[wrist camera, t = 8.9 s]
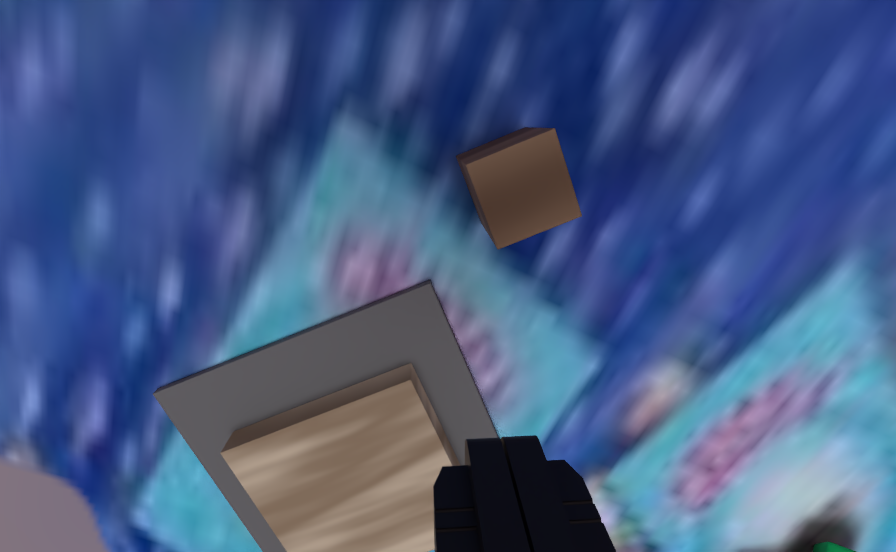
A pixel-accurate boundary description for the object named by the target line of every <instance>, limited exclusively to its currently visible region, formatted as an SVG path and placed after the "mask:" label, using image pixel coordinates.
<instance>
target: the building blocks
mask: <svg viewBox="0 0 896 552" xmlns="http://www.w3.org/2000/svg"><path fill="white" fill-rule="evenodd" d="M813 552H856V551H853V550H851V549H848V548H845V547H842V546H840V545H837V544H834V543H831V542H823V543H818V544H815V545H814V548H813Z"/></svg>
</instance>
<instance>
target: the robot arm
mask: <svg viewBox="0 0 896 552" xmlns="http://www.w3.org/2000/svg"><path fill="white" fill-rule="evenodd" d="M433 499H434V545H435V552H616V550H615V548H614V546H613V544H612V541H611V539H610V537H609V535H608V533H607V530H606V528H605V526H604V524H603V523H602V522H601V517H600V515H599V513H598V511H597V509H596V506H595V504H593V502H592V498H591V495H590V493H589V491H588V489H587V487H586V484H585V482H584V480H583V478H582V477H581V476H580V475H579V474H578V473H577V472H576V471H575V470H574V469H573V468H572V467H571V466H570V465H569V464H568V463H567V462H566V461H565V460H551V461H547V460H546V458H545V455H544V452H543V450H542V447H541V444H540V442H539V439H538V437H537V436H535V435H534V436H514V437H502V438H501V439H500V438H499V437H497V438H477V439H466V440H465V465H460V466H442V469H441V471H440V473H439V475H438V477H437V479H436V481H435V484H434V486H433Z"/></svg>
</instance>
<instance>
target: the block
mask: <svg viewBox="0 0 896 552" xmlns="http://www.w3.org/2000/svg"><path fill="white" fill-rule="evenodd" d="M456 158H457V160H458V163H459V166H460V168H461V171H462V174H463V176H464V179H465V181H466V184H467V187H468V189H469V192H470V194H471V197H472V200H473V202H474V205H475V208H476V210H477V213H478V215H479V218H480V221H481V223H482V225H483V226H484V228H485V230H486V231H487V233H488V234H489V236H490V238H491V239H492V241H493V243H494V244H495V246H496V247H497V249H500V248H503V247H505V246H508V245H510V244H513V243H515V242H518V241H520V240H523V239H525V238H528V237H530V236H533V235H535V234H538V233H541V232H543V231H546V230H548V229H551V228H553V227H556V226H558V225H561V224H563V223H566V222H568V221H571V220H573V219H576V218H578V217H581V216H582V214H581V211H580V208H579V205H578V202H577V198H576V195H575V192H574V189H573V185H572V182H571V179H570V176H569V173H568V169H567V166H566V163H565V160H564V156H563V153H562V150H561V147H560V144H559V140H558V137H557V134H556V131H555V128H528V127H525V128H522V129H520V130H517V131H515V132H512V133H510V134H508V135H505V136H503V137H500V138H498V139H496V140H493V141H491V142H488V143H486V144H484V145H481V146H479V147H476V148H474V149H471V150H469V151H467V152H464V153H462V154H459V155H457V156H456Z"/></svg>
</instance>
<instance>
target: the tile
mask: <svg viewBox="0 0 896 552" xmlns="http://www.w3.org/2000/svg"><path fill="white" fill-rule="evenodd" d="M220 454H221V455H222V456H223V458H224V459H225V461H226V462H227V464H228V465H229V467H230V468H231V470H232V471H233V473H234V474H235V476H236V477H237V479H238V480H239V482H240V483H241V485H242V486H243V487H244V489H245V490H246V492H247V493H248V495H249V496H250V498H251V499H252V501H253V502H254V504H255V505H256V507H257V508H258V510H259V511H260V513H261V514H262V516H263V517H264V519H265V520H266V521H267V523H268V524H269V526H270V527H271V529H272V530H273V532H274V533H275V535H276V536H277V538H278V539H279V541H280V542H281V544H282V545H283V547H284V548H285V550H286V551H287V552H428V551H431V550H434V549H435V545H434V499H433V486H434V484H435V481H436V479H437V477H438V475H439V473H440V471H441V469H442V466H460V463H459V461H458V459H457V457H456V455H455V453H454V451H453V449H452V447H451V445H450V443H449V441H448V439H447V436H446V434H445V432H444V430H443V428H442V426H441V424H440V422H439V420H438V418H437V416H436V414H435V411H434V409H433V407H432V405H431V403H430V401H429V399H428V397H427V395H426V393H425V391H424V389H423V386H422V384H421V382H420V380H419V378H418V376H417V374H416V372H415V370H414V368H413V366H412V364H411V363H409V364H407V365H404V366H401V367H399V368H396V369H394V370H391V371H389V372H386V373H383V374H381V375H378V376H376V377H373V378H371V379H368V380H365V381H363V382H360V383H358V384H355V385H352V386H350V387H347V388H345V389H342V390H340V391H337V392H334V393H332V394H329V395H327V396H324V397H322V398H319V399H316V400H314V401H311V402H309V403H306V404H304V405H301V406H298V407H296V408H293V409H291V410H288V411H285V412H283V413H280V414H278V415H275V416H273V417H270V418H267V419H265V420H262V421H260V422H257V423H255V424H252V425H249V426H247V427H244V428H242V429H239V430H237V431H234V432H233V433H232V435H231V436H230V438H229V439H228V441H227V443H226V444H225V446H224V448H223V449H222V451H221V453H220Z"/></svg>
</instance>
